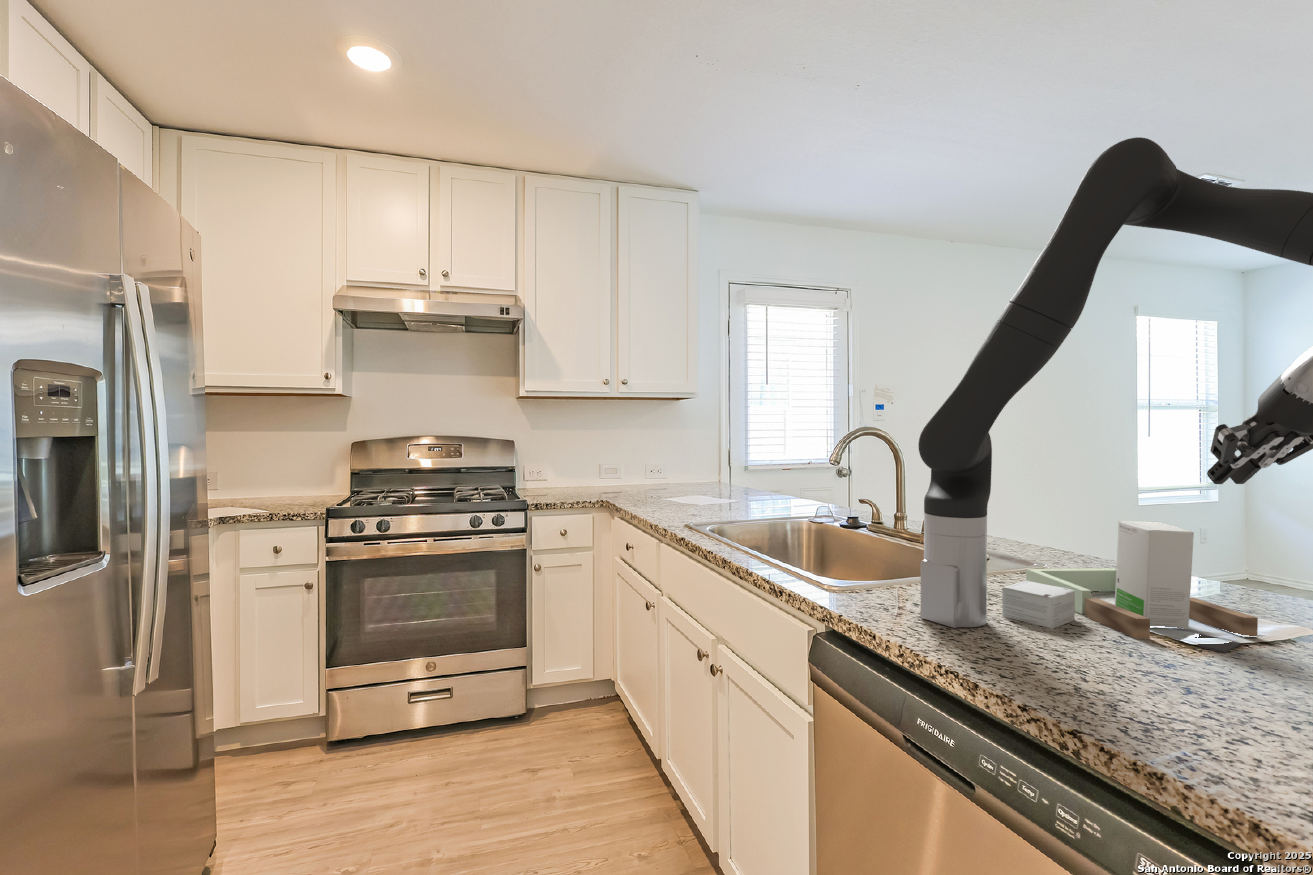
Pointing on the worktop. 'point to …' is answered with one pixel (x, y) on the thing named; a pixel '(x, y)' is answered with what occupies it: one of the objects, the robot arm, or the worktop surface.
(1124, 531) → the skincare box
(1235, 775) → the worktop surface
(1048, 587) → the small box
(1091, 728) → the worktop surface
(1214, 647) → the pit mat
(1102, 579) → the corral
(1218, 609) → the channel
